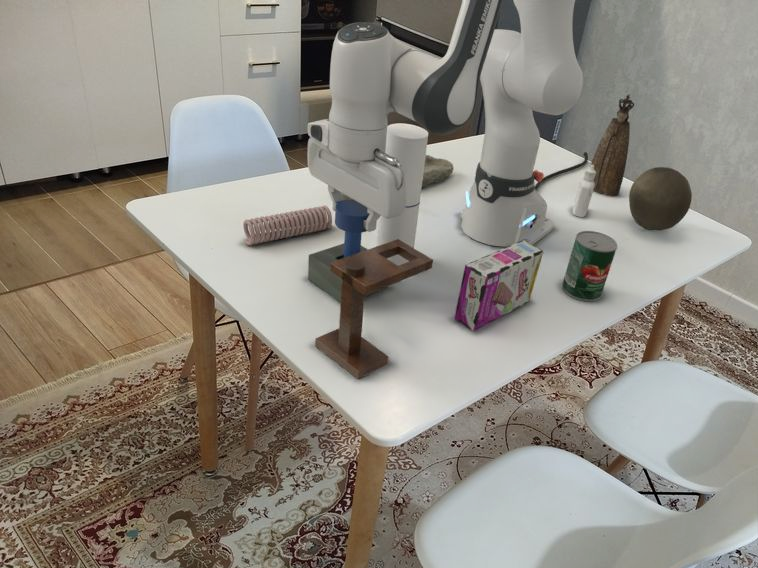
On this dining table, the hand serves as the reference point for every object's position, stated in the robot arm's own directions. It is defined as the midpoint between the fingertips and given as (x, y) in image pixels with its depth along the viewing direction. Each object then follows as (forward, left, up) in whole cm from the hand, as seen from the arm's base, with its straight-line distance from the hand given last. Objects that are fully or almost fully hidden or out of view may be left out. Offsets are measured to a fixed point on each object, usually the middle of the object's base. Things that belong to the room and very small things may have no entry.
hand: (353, 220), depth 110 cm
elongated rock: (-37, -27, -13) cm, 48 cm away
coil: (-2, -20, -13) cm, 24 cm away
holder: (0, 0, -12) cm, 12 cm away
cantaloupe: (-75, +21, -13) cm, 79 cm away
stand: (+9, +16, -12) cm, 22 cm away
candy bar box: (-7, +21, -7) cm, 24 cm away
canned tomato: (-36, +27, -13) cm, 46 cm away
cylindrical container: (-13, -2, -13) cm, 18 cm away
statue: (-85, +1, -13) cm, 86 cm away
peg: (0, 0, -11) cm, 11 cm away
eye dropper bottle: (-67, +6, -13) cm, 68 cm away
